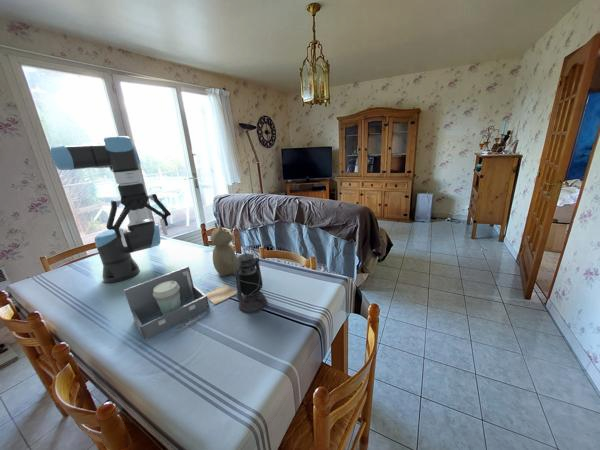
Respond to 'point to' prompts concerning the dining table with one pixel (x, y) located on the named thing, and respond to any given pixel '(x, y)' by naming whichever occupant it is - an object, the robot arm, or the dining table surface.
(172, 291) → the coffee cup
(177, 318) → the case
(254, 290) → the lantern
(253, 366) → the dining table surface
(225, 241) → the bear
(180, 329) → the bar
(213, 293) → the cork pad
